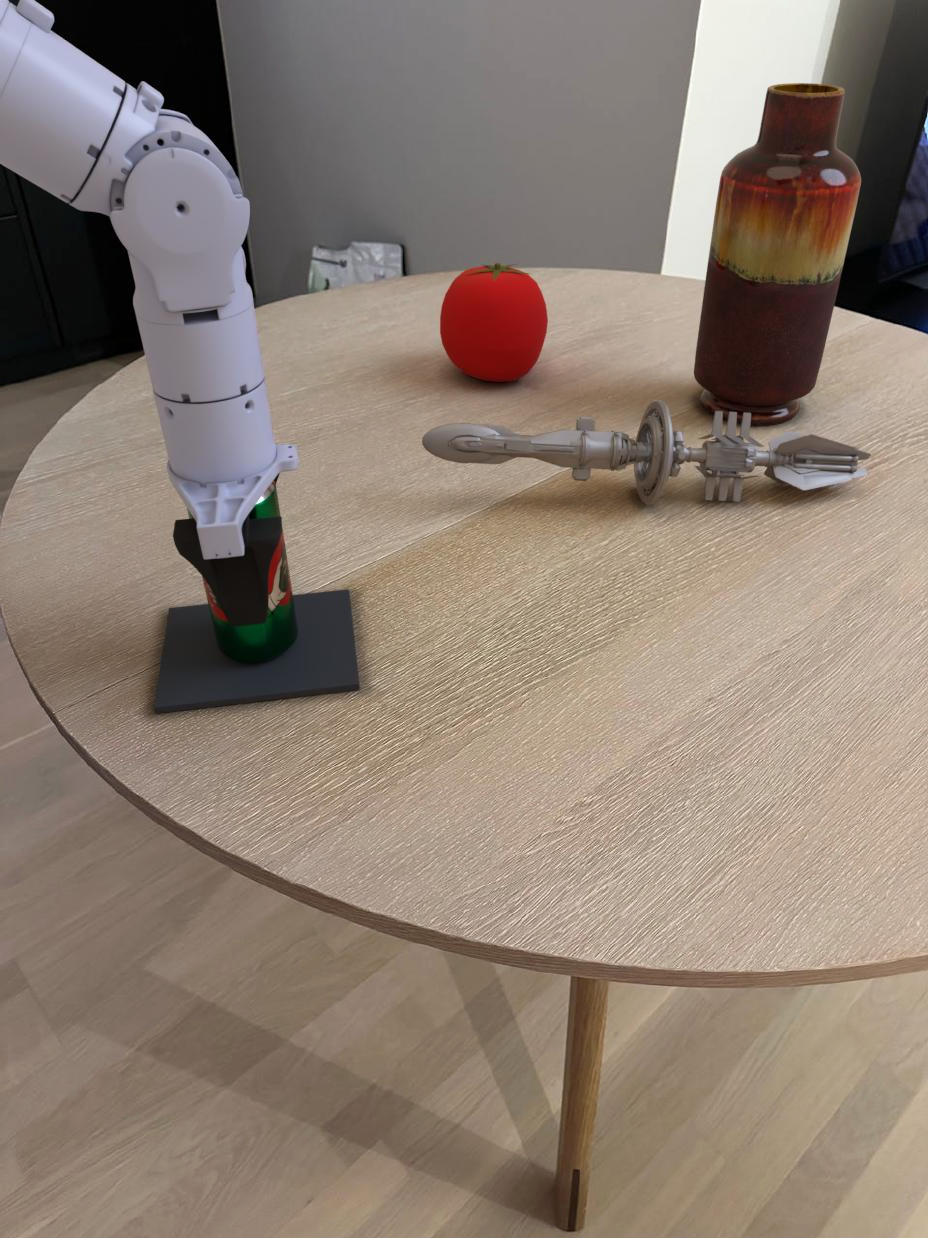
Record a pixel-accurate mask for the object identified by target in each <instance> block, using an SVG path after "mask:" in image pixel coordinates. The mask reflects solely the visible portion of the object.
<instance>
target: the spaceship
mask: <svg viewBox="0 0 928 1238" xmlns="http://www.w3.org/2000/svg"><path fill="white" fill-rule="evenodd" d="M722 418H723V411H715V415H714V416H713V421H712V426H711V431H710V433H708V434H707V435H703V436H701V437H698V438H697V440H705V441H704V442H703V443H702V444H701V447H699V448H697V447H696V448H694V447H693V448H692V447H691V446H688V447H687V446H686V445H684V444H683V443H684V442H685V437H684V433H683V432H682V431H681V430H674V428H673V427H674V426H673V422H672V419H671V415H670V410H669V408H668V406H667V404H666V403H665V402H664V401H662V400H659V399H656V400H654V401H652V402H650V403H649V404H648V405H647V407H646V409H645V411H644V412H643V415H642V417H641V421H640V425H639V427H638V430H637V434H636V438H635V439H633V438H631V437H630V435H629V434H627V433H625V432H623V431H615V430H611V431H602V430H601V431H599V430H595V426H596V421H595V420H594V419H593V418H592V417H586V416H580V417H579V418H577V419H576V422H575V423H576V425H575V429H563V428H562V429H559V430H553V431H549V432H544V433H539V434H533V435H532V434H520V433H517V432H515V431H512V430H511V429H509V428H507V427H505V426H504V425H500V424H489V423H487V424H486V423H484V424H483V423H471V422H453V423H447V424H443V425H438V426H435V427H434V428H431V429H429V430H428V431H426V432H425V434H423V436H422V438H421V445H422V446H423V449H425V450H426V451H427V452H428V453H429V454H431V455H432V456H434V457H435V458H439V459H442V460H444V461H448V462H452V463H458V464H479V465H480V464H481V465H482V464H483V465H501V464H504V463H506V462H509V461H512V460H514V459H517V458H524V459H525V458H526V459H535V460H538V461H541V462H545V463H548V464H551V465H554V466H557V467H560V468H569V469H570V468H571V469H572V471H571V478H572V479H573V480H574V481H576V482H579V481H580V482H586V481H588V480H590V478H591V471H592V469H593V470H608V471H611V472H615V471H617V472H619V471H622V470H625V469H627V466H632V465H633V472H634V478H635V486H636V489H637V490H636V491H637V493H638V497H639V498H640V500H641V502H643V504H645V505H648V506H651V505H653V504H655V503H657V502H658V501H659V500H660V498H661V497H662V495H663V493H664V490H665V488H666V486H667V483H668V481H669V478H670V477H671V478H677V477H678V476H679V474H680V471H681V469H682V468H681V466H680V465H682V464H684V463H685V462H686V463H691V462H692V463H698V464H699V465H694V466H693V467H694V468H695V469H696V470H697V471H698V472H699V473H700V474H701V475H703V478H705V482H704V484H705V485H704V500H705V501H713V497H714V490H715V487H716V481H717V479H719V483H718V484H719V485H718V499H717V500H718V501H720V502H727V496H728V490H729V486H730V481H731V480H732V479H733V481H732V494H731V495H732V498H731V501H732V502H737V503H738V502H740V501H741V496H742V492H743V486H744V482H745V480H748V479H753V478H758V477H759V478H760V475H748V476H747V475H746V474H740V473H752V472H753V471H754V470H755V468H756V467H764V468H765V470H764V472H763V475H764V476H766V478H769V479H770V480H772V481H774V482H775V483H776V484H779V485H780V486H786V485H790V486H793V487H794V488H796V489H798V490H800V491H802V492H806V491H810V490H814V489H819V488H824V487H828V486H834V485H837V484H842V483H846V482H850V481H851V480H855V479H857V478H862V477H867V476H868V474H869V473H868V470H867V469H866V468H864V467H860V466H858V463H859V461H865V460H868V459H869V458H871V456H872V454H871V453H870V452H867V451H863V450H860V448H859V447H856V446H852V445H849V444H847V443H843V442H840V441H837V440H834V439H830V438H828V437H824V436H820V435H817V434H815V433H810V434H802V433H799V432H795V431H792V430H788V431H786V432H784V433H782V434H780V435H778V436H776V437H774V438H772V439H769V440H768V441H767V444H768V447H769V450H758V448H765V446H764V445H763V444H762V443H760V442H759V441H757V440H756V439H754V437H753V436H750V435H751V425H750V423H751V413H743V418H742V423H741V424H740V429H739V432H738V435H736V434H737V423H736V421H737V412H729V416H728V421H726V427H725V433H724V434H722V433H723V420H722ZM710 438H711V439H710ZM707 439H710V440H707ZM744 440H746V441H747V442H745V441H744ZM710 472H711V473H710Z"/></svg>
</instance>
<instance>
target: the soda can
mask: <svg viewBox="0 0 928 1238" xmlns="http://www.w3.org/2000/svg"><path fill="white" fill-rule="evenodd" d="M186 511H187V515H188V519H191V518H194V517H193V516H192V514H191V513H190V511H189V510H188V508H187V507H186ZM280 516H281V517H282V515H281V509H280V503H279V496H278V490H277V483H276V484H275V482H274V480H273V481H272V483H271V484H270V486H269V487H268V488H267V490H266V491H265V492H264V494H263V495H262V496H261V498H260V499H259V501H258V502H257V503H256V505H255V506H254V507H253V509H252V510H251V511H250V513H249V519H259V518H269V517H280ZM201 578H202V582H203V588H204V592H205V596H206V601H207V604H208V606H209V610H210V615H211V619H212V624H213V628H214V633H215V637H216V642H217V645H218V648H219V649H220V651H221V652H222V653H223V654H225V655H226V656H228V657H230V658H231V659H234V660H236V661H239V662H242V663H251V664H253V663H263V662H267V661H270V660H273V659H275V658H278V657H279V656H281V655H283V654H284V653H285V652H286V651H287V650H288V649H289V648H290V647H291V646H292V645H293V643H294V642H295V640H296V638H297V636H298V626H297V620H296V613H295V606H294V600H293V595H294V594H293V587H292V581H291V575H290V568H289V562H288V555H287V547H286V543H285V535H284V529H283V527H282V533H281V537H280V541H279V544H278V546H277V549H276V551H275V553H274V555H273V558H272V561H271V566H270V572H269V605H268V615H267V620H266V622H265V623H264V624H254V625H245V626H236V627H232V626H231V625H230V623H229V622H228V620H227V619H226V617H225V615H224V614H223V612H222V610H221V608H220V606H219V604H218V602H217V600H216V598H215V596H214V594H213V592H212V590H211V589H210V587H209V585H208V583H207V582H206V580H205V579H204V578H203V576H202V575H201Z"/></svg>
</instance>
